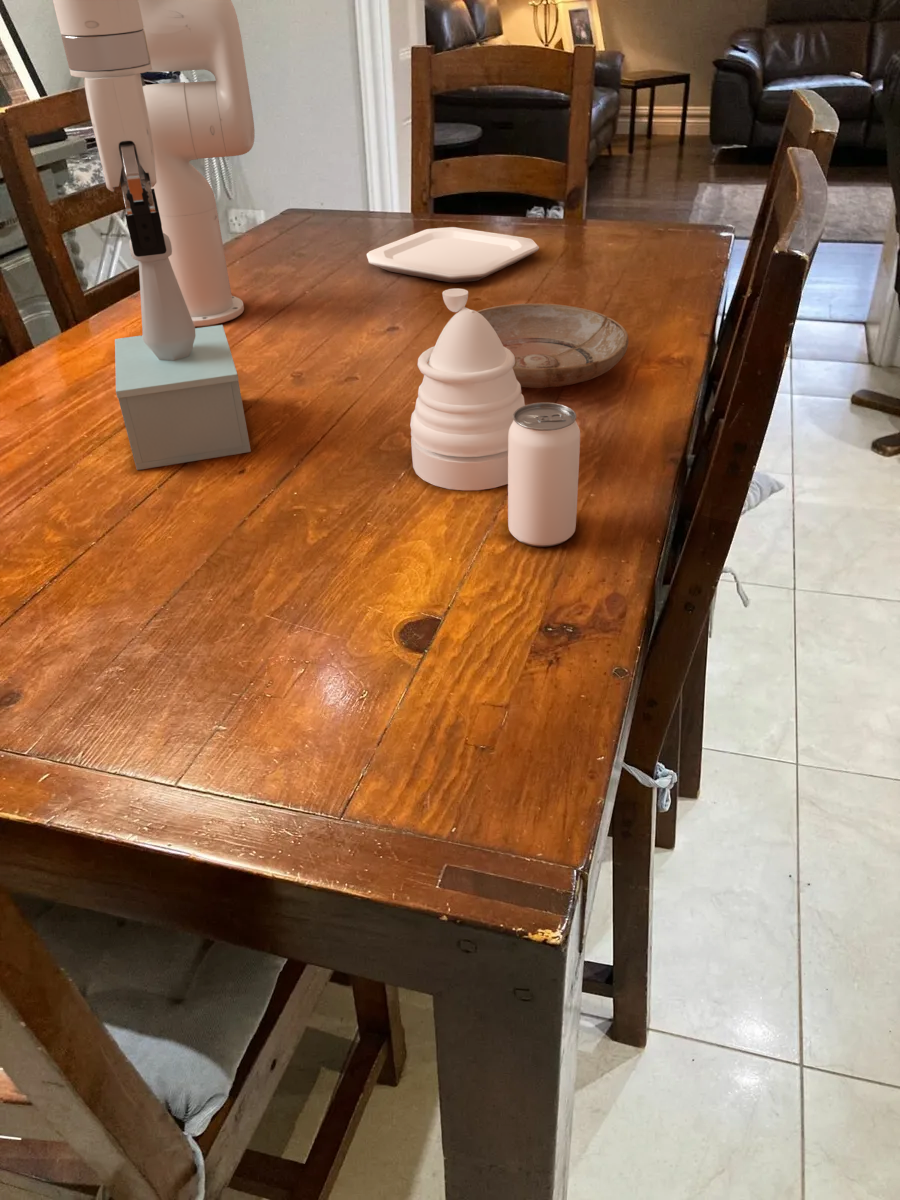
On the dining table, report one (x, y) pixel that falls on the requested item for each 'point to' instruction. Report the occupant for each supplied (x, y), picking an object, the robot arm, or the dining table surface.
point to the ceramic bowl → (557, 342)
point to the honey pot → (464, 403)
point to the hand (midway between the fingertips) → (149, 241)
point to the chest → (185, 425)
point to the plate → (452, 254)
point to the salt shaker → (163, 307)
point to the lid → (173, 365)
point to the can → (543, 474)
